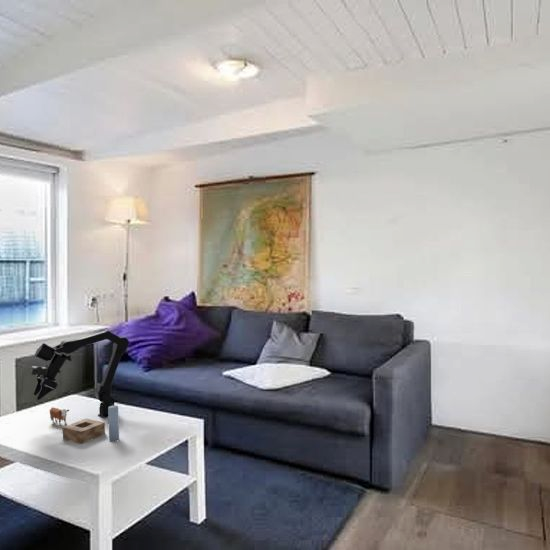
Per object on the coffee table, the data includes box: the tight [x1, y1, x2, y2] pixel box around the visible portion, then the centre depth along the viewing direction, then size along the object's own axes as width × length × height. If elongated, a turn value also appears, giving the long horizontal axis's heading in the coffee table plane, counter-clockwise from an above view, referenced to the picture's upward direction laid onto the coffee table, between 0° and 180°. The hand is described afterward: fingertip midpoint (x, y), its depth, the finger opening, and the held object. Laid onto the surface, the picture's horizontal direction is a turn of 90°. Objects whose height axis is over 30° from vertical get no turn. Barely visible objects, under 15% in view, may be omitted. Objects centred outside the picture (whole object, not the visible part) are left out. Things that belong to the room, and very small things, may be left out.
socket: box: [62, 418, 106, 445], centre depth 198 cm, size 12×12×5 cm
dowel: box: [107, 405, 120, 442], centre depth 194 cm, size 4×4×14 cm
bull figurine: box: [49, 406, 70, 427], centre depth 214 cm, size 4×13×8 cm, turn 53°
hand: (36, 397), depth 207 cm, fingers open, 9 cm apart
